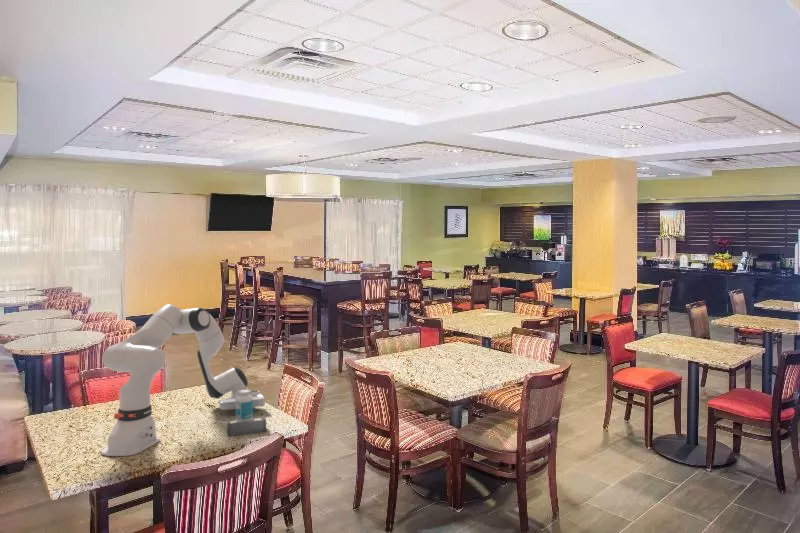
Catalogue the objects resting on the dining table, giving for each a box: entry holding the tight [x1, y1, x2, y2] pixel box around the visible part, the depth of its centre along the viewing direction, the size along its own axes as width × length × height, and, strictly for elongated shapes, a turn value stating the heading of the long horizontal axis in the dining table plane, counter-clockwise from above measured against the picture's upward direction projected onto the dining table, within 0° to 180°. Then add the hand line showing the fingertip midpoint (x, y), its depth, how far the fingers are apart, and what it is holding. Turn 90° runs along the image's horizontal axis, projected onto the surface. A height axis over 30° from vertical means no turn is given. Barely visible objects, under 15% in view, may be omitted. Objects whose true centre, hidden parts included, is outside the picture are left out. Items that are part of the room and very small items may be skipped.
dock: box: [226, 415, 267, 437], centre depth 235 cm, size 7×15×5 cm, turn 109°
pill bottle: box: [235, 389, 254, 422], centre depth 249 cm, size 8×7×14 cm
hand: (243, 407), depth 253 cm, fingers closed
